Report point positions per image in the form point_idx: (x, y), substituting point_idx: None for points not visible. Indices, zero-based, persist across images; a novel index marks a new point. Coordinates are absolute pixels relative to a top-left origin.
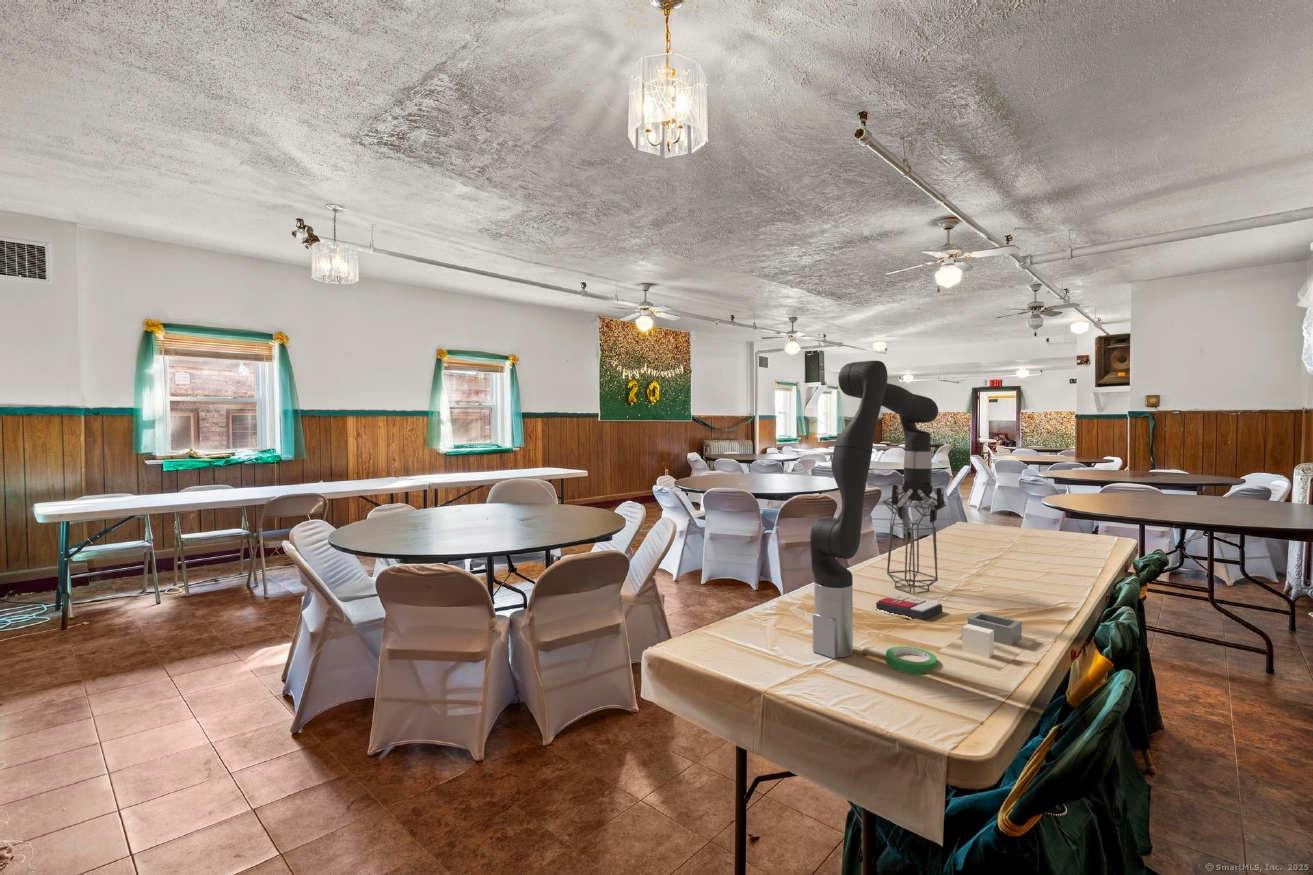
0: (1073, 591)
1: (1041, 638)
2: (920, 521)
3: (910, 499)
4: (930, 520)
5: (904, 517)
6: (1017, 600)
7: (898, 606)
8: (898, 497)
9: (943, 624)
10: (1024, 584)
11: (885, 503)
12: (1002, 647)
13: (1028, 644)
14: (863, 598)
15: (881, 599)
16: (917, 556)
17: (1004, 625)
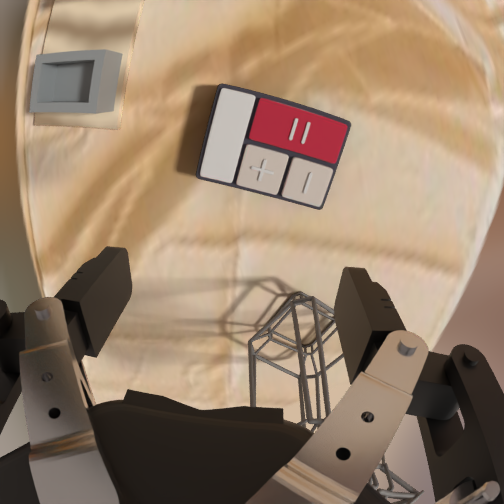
0: None
1: (38, 155)
2: None
3: (288, 421)
4: (115, 252)
5: (335, 315)
6: (124, 343)
7: (289, 105)
8: (425, 451)
9: (184, 110)
10: None
11: (411, 490)
12: (67, 39)
13: None
14: (390, 202)
15: (342, 140)
16: (302, 403)
17: (46, 61)
